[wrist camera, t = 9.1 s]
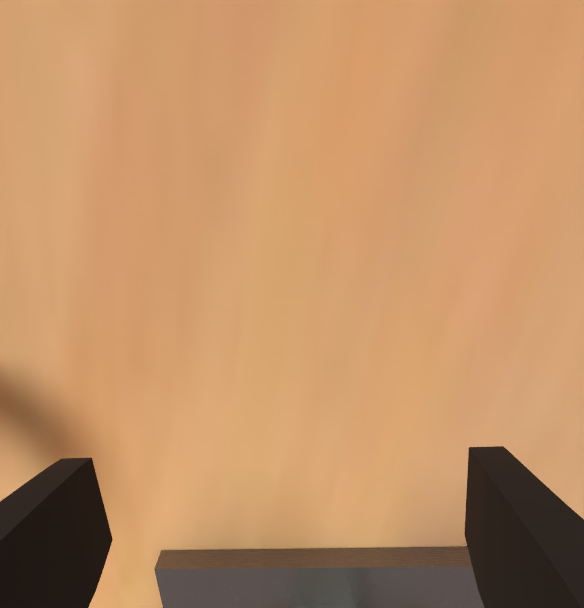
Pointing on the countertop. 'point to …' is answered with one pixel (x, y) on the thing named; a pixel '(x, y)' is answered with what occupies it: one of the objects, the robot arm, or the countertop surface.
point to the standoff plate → (318, 578)
